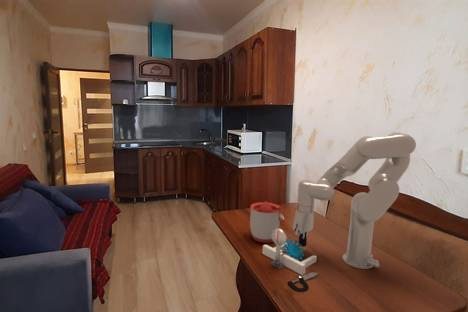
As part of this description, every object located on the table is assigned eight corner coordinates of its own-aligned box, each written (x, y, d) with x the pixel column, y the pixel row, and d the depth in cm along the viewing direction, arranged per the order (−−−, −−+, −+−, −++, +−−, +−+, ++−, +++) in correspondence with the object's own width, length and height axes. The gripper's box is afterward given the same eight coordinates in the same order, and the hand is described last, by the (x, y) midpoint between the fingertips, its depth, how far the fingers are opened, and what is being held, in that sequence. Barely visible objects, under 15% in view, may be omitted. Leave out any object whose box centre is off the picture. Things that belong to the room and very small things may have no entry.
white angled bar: (321, 264, 124) (322, 255, 123) (302, 275, 115) (302, 265, 114) (281, 245, 140) (282, 237, 140) (262, 253, 131) (262, 245, 131)
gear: (288, 261, 122) (283, 238, 128) (281, 265, 127) (276, 243, 132) (309, 260, 127) (303, 238, 132) (302, 264, 131) (296, 243, 137)
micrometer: (298, 295, 103) (298, 288, 103) (285, 284, 109) (285, 278, 109) (327, 284, 110) (328, 278, 110) (314, 274, 116) (314, 269, 116)
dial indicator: (290, 265, 122) (292, 229, 119) (281, 270, 118) (283, 232, 115) (277, 259, 127) (280, 224, 124) (268, 263, 123) (270, 227, 120)
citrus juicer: (281, 247, 138) (284, 208, 135) (246, 243, 141) (248, 204, 138) (283, 234, 153) (285, 198, 150) (251, 230, 156) (252, 195, 153)
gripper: (307, 202, 137) (304, 238, 140) (288, 208, 127) (285, 246, 130) (321, 206, 131) (318, 243, 134) (302, 213, 122) (299, 253, 125)
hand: (302, 245), depth 132 cm, fingers closed
